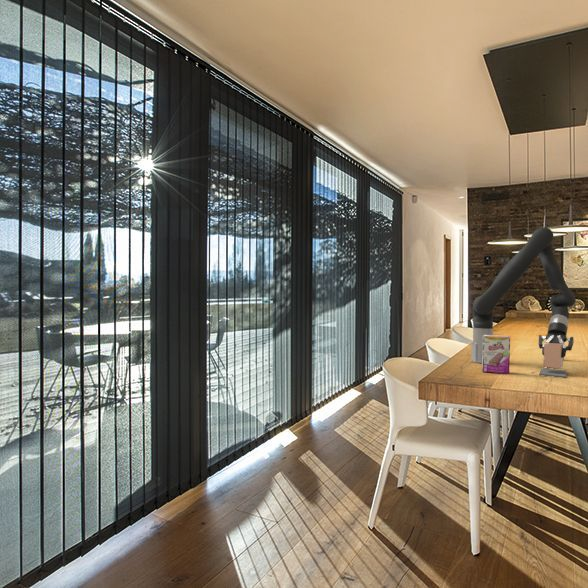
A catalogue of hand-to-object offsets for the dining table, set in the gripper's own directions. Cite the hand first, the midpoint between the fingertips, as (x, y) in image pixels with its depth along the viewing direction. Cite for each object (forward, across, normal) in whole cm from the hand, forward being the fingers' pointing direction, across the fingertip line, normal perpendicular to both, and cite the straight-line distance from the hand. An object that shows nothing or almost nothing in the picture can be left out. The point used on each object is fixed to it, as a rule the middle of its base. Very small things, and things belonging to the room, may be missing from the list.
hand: (553, 355), depth 209 cm
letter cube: (-6, -4, +18) cm, 20 cm away
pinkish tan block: (+3, 0, +4) cm, 5 cm away
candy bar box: (+14, -21, -2) cm, 25 cm away
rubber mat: (+5, 0, +6) cm, 8 cm away
